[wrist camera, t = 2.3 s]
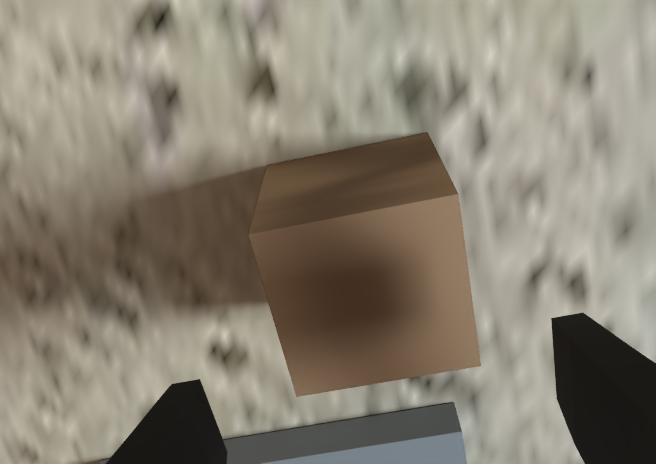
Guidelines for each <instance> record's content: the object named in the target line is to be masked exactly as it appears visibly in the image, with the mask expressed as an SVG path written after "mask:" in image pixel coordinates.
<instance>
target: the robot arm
mask: <svg viewBox="0 0 656 464" xmlns="http://www.w3.org/2000/svg"><path fill="white" fill-rule="evenodd" d="M551 319H552V334H553V348H554V363H555V378H556V393H557V400H558V403H559V405H560V408H561V411H562V413H563V416H564V418H565V421H566V424H567V426H568V429H569V431H570V434H571V436H572V439H573V441H574V443H575V446H576V448H577V449H578V451H579V453H580V455H581V457H582V459H583V461H584V463H585V464H656V363H654V362H653V361H651V360H650V359H648V358H647V357H645V356H644V355H642V354H641V353H639V352H638V351H637V350H635V349H634V348H632V347H631V346H629V345H628V344H627V343H625V342H624V341H622V340H621V339H619V338H618V337H617V336H615V335H614V334H612V333H611V332H610V331H608V330H607V329H605V328H604V327H603V326H601V325H600V324H598V323H597V322H596V321H594V320H593V319H591V318H590V317H588V316H587V315H586V314H584V313H579V314H573V315H568V316H562V317H556V318H551ZM106 464H227V449H226V447H225V444H224V441H223V439H222V436H221V434H220V431H219V428H218V426H217V423H216V420H215V418H214V415H213V413H212V410H211V407H210V405H209V402H208V399H207V397H206V394H205V392H204V389H203V386H202V384H201V381H200V379H199V380H193V381H187V382H181V383H176V384H172V385H171V386H170V387H169V388H168V389H167V390H166V391H165V393H164V394H163V395H162V396H161V397H160V399H159V400H158V401H157V402H156V403H155V405H154V406H153V407H152V408H151V410H150V411H149V412H148V413H147V415H146V416H145V417H144V418H143V419H142V421H141V422H140V423H139V424H138V426H137V427H136V428H135V429H134V431H133V432H132V433H131V434H130V435H129V437H128V438H127V439H126V440H125V441H124V443H123V444H122V445H121V446H120V447H119V449H118V450H117V451H116V452H115V453H114V455H113V456H112V457H111V458H110V459H109V460H108V461H107V463H106Z"/></svg>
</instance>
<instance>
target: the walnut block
mask: <svg viewBox="0 0 656 464" xmlns="http://www.w3.org/2000/svg"><path fill="white" fill-rule="evenodd" d="M248 236H249V240H250V243H251V246H252V250H253V253H254V256H255V260H256V263H257V266H258V270H259V273H260V276H261V280H262V283H263V286H264V290H265V293H266V296H267V300H268V303H269V306H270V310H271V313H272V316H273V320H274V323H275V326H276V330H277V333H278V336H279V340H280V343H281V346H282V350H283V353H284V356H285V360H286V363H287V366H288V370H289V373H290V376H291V380H292V383H293V386H294V390H295V393H296V396H297V397H298V396H304V395H310V394H316V393H322V392H328V391H334V390H340V389H346V388H352V387H358V386H364V385H370V384H376V383H382V382H388V381H393V380H399V379H405V378H411V377H417V376H423V375H429V374H435V373H441V372H447V371H453V370H459V369H465V368H471V367H477V366H481V363H480V356H479V348H478V340H477V333H476V325H475V318H474V310H473V302H472V295H471V287H470V279H469V272H468V264H467V257H466V249H465V241H464V234H463V226H462V219H461V211H460V203H459V196H458V192H457V190H456V188H455V186H454V184H453V182H452V180H451V178H450V176H449V174H448V172H447V170H446V168H445V166H444V164H443V162H442V160H441V158H440V156H439V154H438V152H437V150H436V148H435V146H434V144H433V142H432V140H431V138H430V136H429V134H428V132H427V133H422V134H417V135H412V136H407V137H402V138H398V139H393V140H388V141H383V142H378V143H373V144H368V145H363V146H358V147H353V148H349V149H344V150H339V151H334V152H329V153H324V154H319V155H314V156H309V157H304V158H299V159H295V160H290V161H285V162H280V163H275V164H270V165H267V167H266V170H265V174H264V178H263V181H262V185H261V189H260V192H259V196H258V200H257V204H256V207H255V211H254V215H253V218H252V222H251V226H250V229H249V233H248Z"/></svg>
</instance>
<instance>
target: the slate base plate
mask: <svg viewBox="0 0 656 464" xmlns="http://www.w3.org/2000/svg"><path fill="white" fill-rule="evenodd" d="M223 441H224V444H225V447H226V449H227V464H467V462H466V455H465V449H464V443H463V436H462V431H461V427H460V423H459V419H458V416H457V412H456V408H455V405H454V403H448V404H442V405H436V406H430V407H423V408H417V409H411V410H405V411H399V412H393V413H387V414H381V415H374V416H368V417H362V418H356V419H350V420H344V421H338V422H332V423H325V424H319V425H313V426H307V427H301V428H295V429H289V430H282V431H276V432H270V433H264V434H258V435H252V436H246V437H240V438H233V439H227V440H223ZM108 460H109V459H105V460H100V462H99V464H106V463H107V461H108Z"/></svg>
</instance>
